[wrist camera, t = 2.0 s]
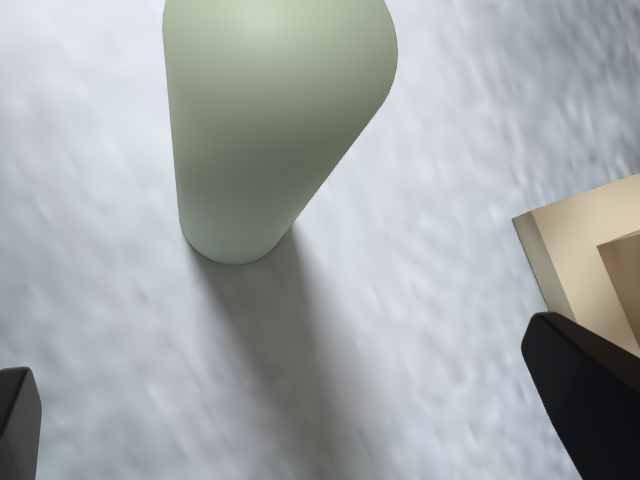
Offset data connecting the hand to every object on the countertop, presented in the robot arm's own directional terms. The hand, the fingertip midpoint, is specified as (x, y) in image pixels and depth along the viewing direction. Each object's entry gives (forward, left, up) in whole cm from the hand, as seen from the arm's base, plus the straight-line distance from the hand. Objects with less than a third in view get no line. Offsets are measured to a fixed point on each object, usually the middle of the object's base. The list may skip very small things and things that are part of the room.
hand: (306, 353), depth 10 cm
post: (+6, -1, -12) cm, 14 cm away
